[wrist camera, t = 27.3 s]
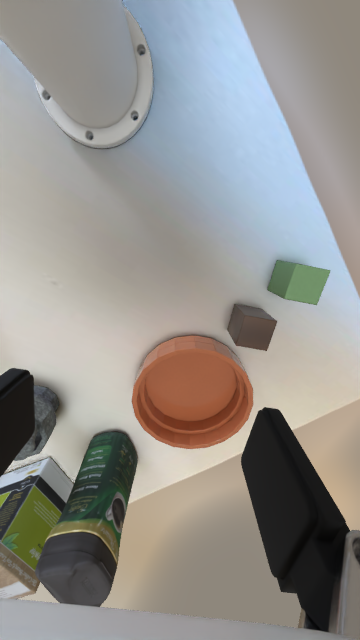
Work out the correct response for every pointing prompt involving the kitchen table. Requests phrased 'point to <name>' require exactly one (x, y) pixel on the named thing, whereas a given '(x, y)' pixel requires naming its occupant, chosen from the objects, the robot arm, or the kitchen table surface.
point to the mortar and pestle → (41, 421)
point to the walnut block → (251, 327)
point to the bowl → (192, 393)
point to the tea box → (28, 522)
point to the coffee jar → (90, 525)
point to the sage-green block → (298, 282)
